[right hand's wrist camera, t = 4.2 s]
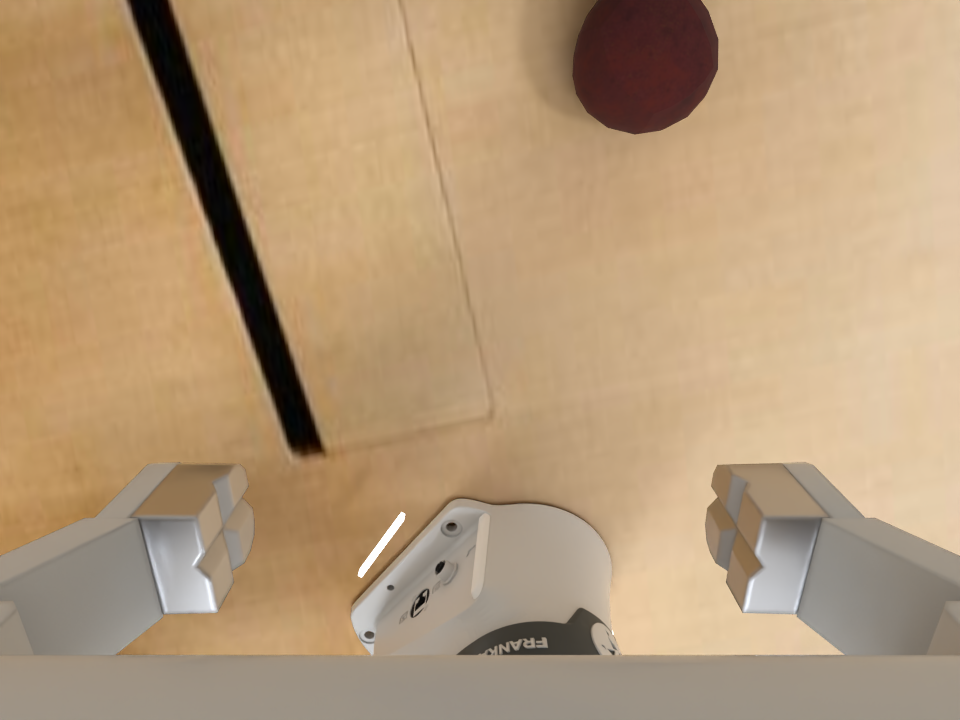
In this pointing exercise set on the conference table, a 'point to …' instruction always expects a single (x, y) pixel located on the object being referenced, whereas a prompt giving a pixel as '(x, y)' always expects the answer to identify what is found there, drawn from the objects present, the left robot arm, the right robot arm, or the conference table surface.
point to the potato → (644, 62)
